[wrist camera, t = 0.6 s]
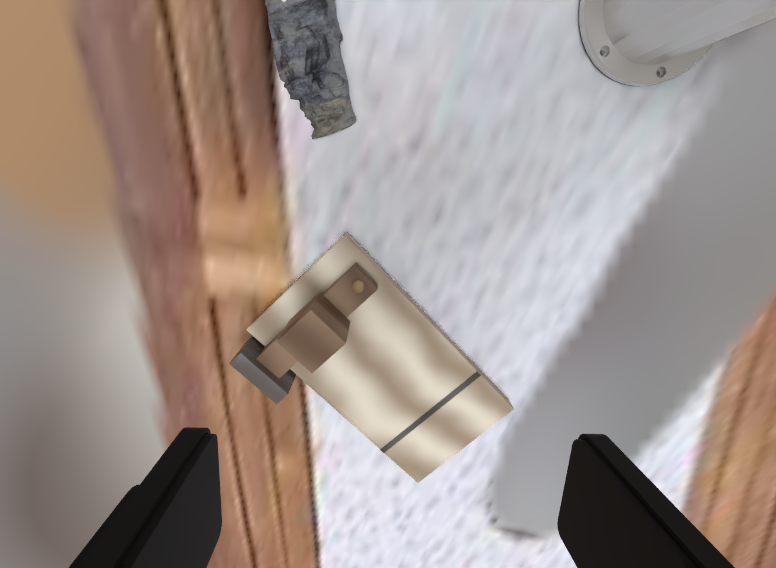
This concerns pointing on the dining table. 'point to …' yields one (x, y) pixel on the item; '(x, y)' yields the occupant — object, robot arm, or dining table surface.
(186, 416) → the dining table surface
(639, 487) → the robot arm
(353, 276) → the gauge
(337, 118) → the driftwood
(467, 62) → the dining table surface
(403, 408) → the board
